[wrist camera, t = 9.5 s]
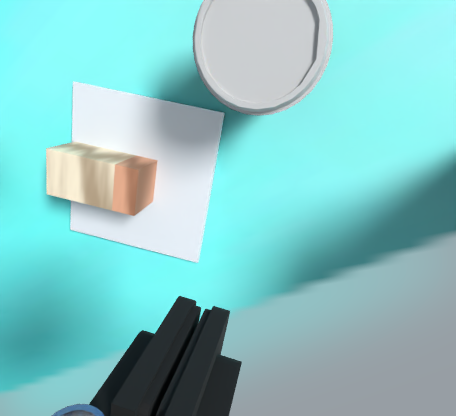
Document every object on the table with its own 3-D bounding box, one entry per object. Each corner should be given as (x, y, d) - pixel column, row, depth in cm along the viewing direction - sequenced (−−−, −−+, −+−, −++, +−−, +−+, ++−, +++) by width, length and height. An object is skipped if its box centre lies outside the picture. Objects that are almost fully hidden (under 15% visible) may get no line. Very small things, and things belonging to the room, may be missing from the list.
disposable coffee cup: (284, 126, 35) (280, 142, 24) (205, 76, 35) (164, 70, 23) (341, 36, 31) (368, 5, 20) (254, -20, 31) (232, -81, 20)
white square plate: (224, 112, 35) (223, 113, 35) (199, 260, 42) (197, 262, 41) (76, 81, 37) (73, 81, 37) (73, 227, 44) (70, 229, 43)
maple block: (138, 170, 33) (46, 148, 34) (134, 216, 35) (46, 194, 36) (157, 160, 38) (75, 141, 39) (152, 201, 40) (74, 182, 41)
